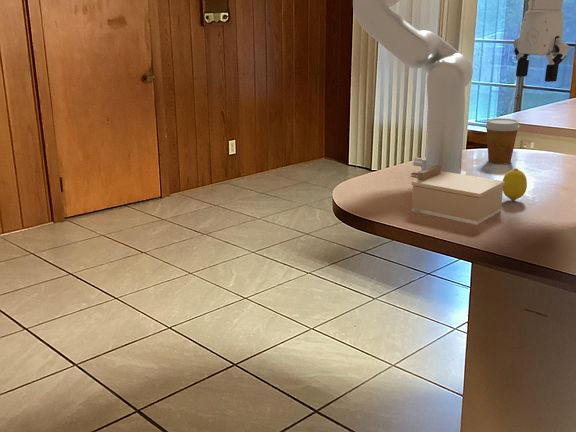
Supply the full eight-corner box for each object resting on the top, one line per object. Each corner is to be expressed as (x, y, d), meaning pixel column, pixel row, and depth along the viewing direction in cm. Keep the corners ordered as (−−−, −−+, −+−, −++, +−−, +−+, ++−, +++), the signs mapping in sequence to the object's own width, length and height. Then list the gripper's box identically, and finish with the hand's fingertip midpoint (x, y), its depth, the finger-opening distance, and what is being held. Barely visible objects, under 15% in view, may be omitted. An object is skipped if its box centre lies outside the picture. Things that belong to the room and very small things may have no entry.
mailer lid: (411, 185, 149) (412, 173, 148) (438, 173, 158) (439, 163, 157) (479, 197, 139) (480, 185, 138) (504, 184, 147) (505, 173, 147)
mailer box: (411, 210, 151) (412, 185, 149) (437, 198, 159) (439, 174, 158) (477, 224, 141) (479, 198, 139) (500, 211, 149) (503, 185, 147)
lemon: (525, 198, 158) (528, 166, 155) (525, 205, 153) (528, 172, 150) (501, 196, 160) (503, 164, 157) (500, 203, 155) (503, 170, 152)
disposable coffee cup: (514, 158, 197) (518, 118, 193) (517, 166, 188) (521, 124, 184) (481, 157, 199) (484, 117, 195) (483, 165, 190) (486, 123, 186)
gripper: (507, 4, 162) (499, 75, 167) (561, 6, 147) (550, 84, 152) (531, 4, 165) (522, 74, 170) (586, 6, 150) (574, 82, 155)
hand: (535, 78), depth 161 cm, fingers open, 9 cm apart
